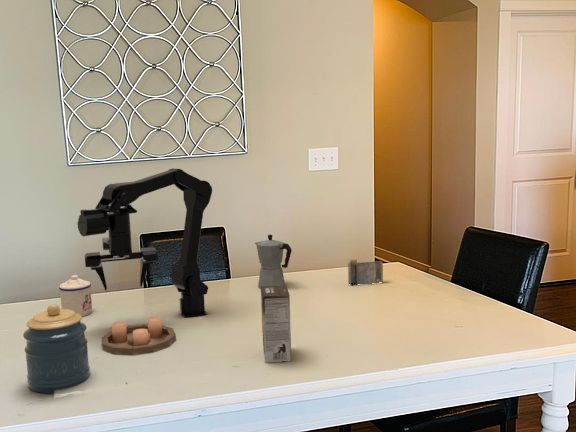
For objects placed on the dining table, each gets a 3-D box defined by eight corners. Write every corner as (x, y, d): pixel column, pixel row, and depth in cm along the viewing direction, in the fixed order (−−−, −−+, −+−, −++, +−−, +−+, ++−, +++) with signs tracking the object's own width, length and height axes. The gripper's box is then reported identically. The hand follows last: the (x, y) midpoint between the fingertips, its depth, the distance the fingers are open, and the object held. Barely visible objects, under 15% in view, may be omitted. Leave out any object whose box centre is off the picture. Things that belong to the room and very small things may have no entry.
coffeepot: (248, 287, 214) (245, 235, 212) (266, 281, 221) (264, 230, 219) (283, 293, 205) (281, 239, 202) (300, 287, 212) (299, 234, 209)
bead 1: (127, 342, 161) (126, 325, 160) (113, 344, 159) (112, 327, 159) (126, 337, 164) (125, 321, 163) (112, 339, 163) (111, 322, 162)
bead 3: (163, 337, 163) (162, 320, 163) (149, 339, 162) (148, 322, 162) (161, 333, 167) (160, 316, 166) (147, 334, 166) (146, 318, 165)
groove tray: (169, 329, 172) (168, 320, 172) (180, 351, 155) (180, 341, 155) (100, 338, 166) (99, 329, 166) (104, 362, 149) (103, 351, 149)
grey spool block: (350, 287, 212) (350, 259, 210) (348, 285, 215) (348, 257, 213) (383, 285, 213) (383, 257, 212) (380, 283, 216) (380, 255, 215)
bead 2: (147, 345, 158) (146, 327, 157) (149, 349, 155) (148, 332, 154) (133, 347, 157) (132, 329, 156) (134, 351, 153) (133, 334, 153)
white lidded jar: (89, 317, 185) (86, 278, 184) (57, 319, 184) (54, 280, 183) (97, 305, 197) (95, 269, 195) (67, 307, 196) (64, 270, 194)
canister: (90, 389, 134) (83, 309, 132) (24, 398, 131) (17, 316, 128) (90, 367, 147) (85, 293, 144) (31, 375, 143) (24, 299, 140)
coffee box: (262, 349, 155) (260, 285, 153) (288, 347, 156) (286, 284, 153) (264, 363, 146) (261, 295, 144) (292, 361, 147) (290, 294, 144)
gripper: (151, 224, 179) (154, 277, 181) (82, 229, 173) (86, 285, 175) (156, 230, 168) (160, 286, 171) (83, 236, 162) (87, 295, 164)
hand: (123, 288), depth 170 cm, fingers open, 9 cm apart
